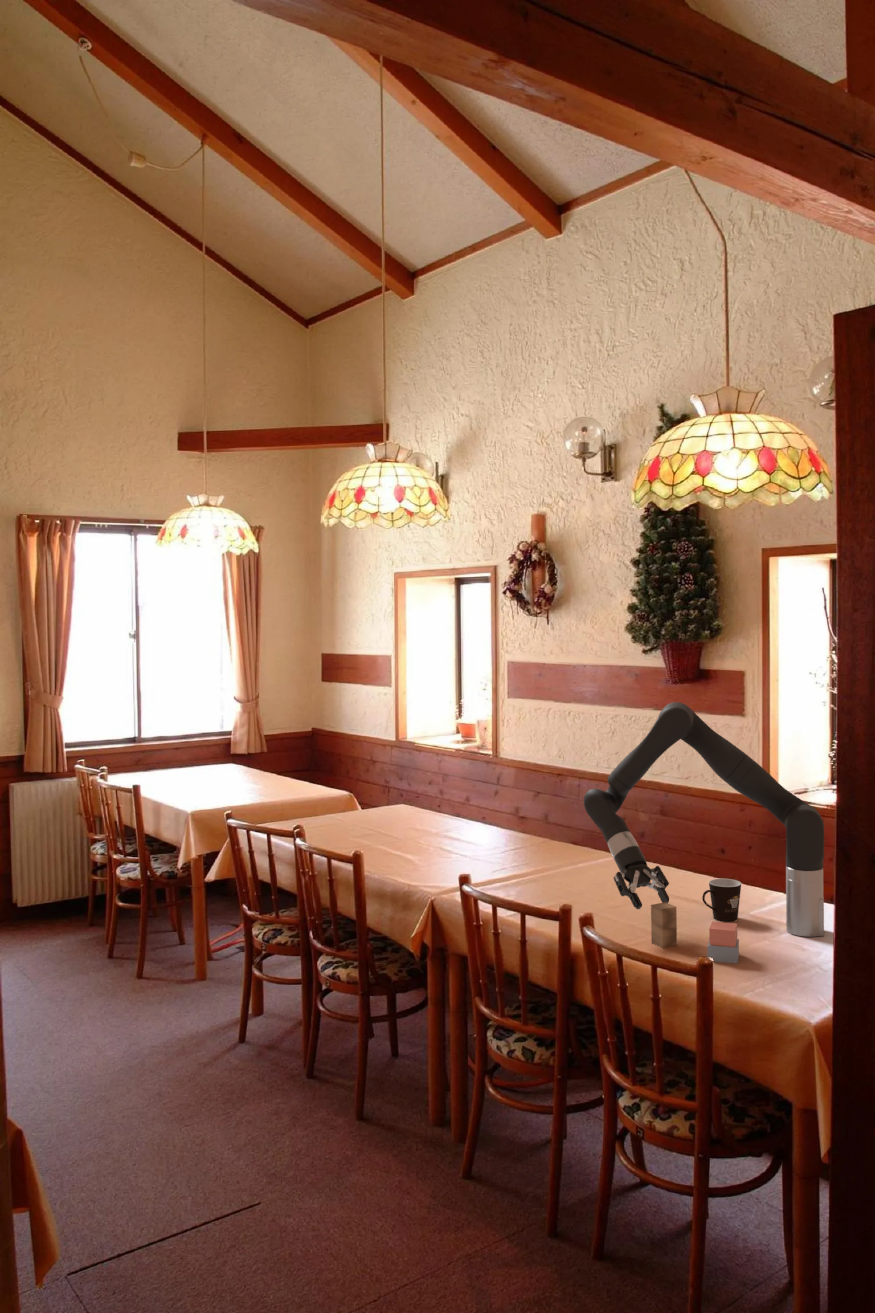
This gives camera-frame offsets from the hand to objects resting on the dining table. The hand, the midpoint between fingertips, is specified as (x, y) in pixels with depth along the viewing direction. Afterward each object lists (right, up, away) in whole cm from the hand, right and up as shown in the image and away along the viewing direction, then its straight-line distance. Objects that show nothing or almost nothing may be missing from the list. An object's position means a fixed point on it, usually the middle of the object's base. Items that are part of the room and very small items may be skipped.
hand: (653, 905), depth 263 cm
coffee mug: (+22, -8, +17) cm, 29 cm away
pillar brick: (+2, -9, -4) cm, 10 cm away
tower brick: (+14, -5, -14) cm, 21 cm away
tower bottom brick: (+14, -9, -14) cm, 22 cm away
